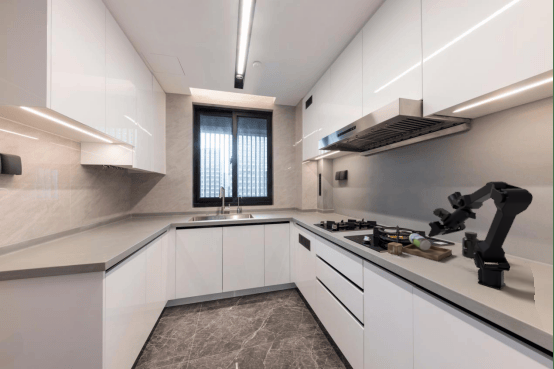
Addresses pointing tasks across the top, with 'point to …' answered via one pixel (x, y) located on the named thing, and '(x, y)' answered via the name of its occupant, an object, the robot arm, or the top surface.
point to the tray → (428, 252)
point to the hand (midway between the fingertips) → (435, 235)
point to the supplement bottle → (469, 244)
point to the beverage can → (420, 241)
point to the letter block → (395, 248)
